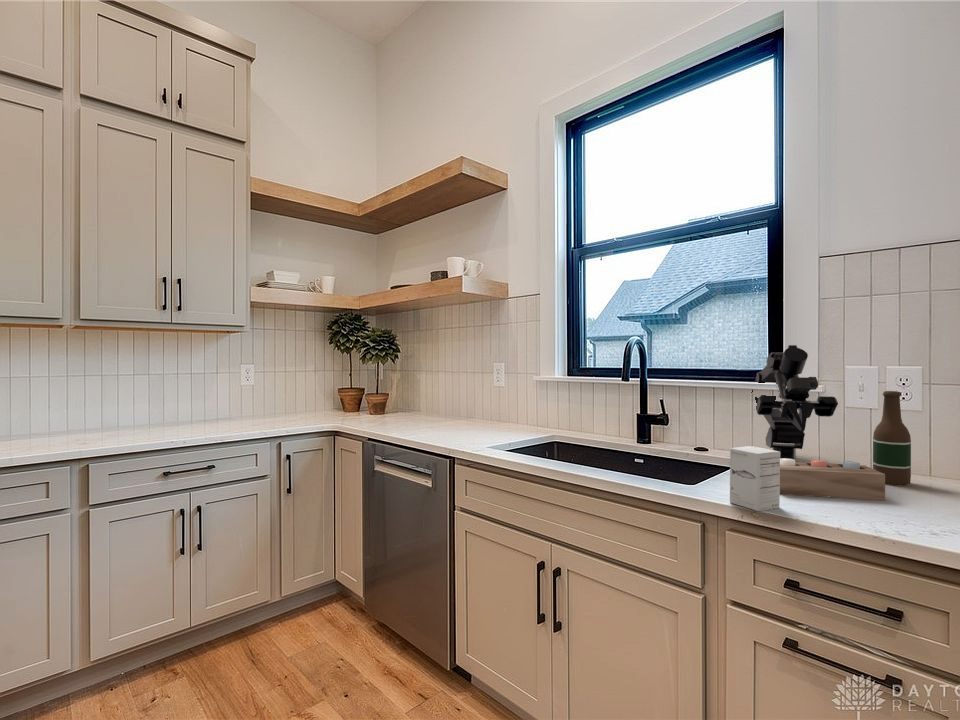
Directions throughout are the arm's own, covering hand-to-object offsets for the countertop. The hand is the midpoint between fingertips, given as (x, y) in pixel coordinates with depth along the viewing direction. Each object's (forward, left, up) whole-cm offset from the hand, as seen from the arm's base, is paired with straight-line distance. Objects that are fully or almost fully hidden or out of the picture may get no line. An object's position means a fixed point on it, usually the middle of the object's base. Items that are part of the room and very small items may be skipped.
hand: (802, 430), depth 136 cm
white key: (+8, -6, -11) cm, 15 cm away
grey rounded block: (+8, +8, -11) cm, 16 cm away
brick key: (+8, +1, -11) cm, 14 cm away
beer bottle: (-4, +22, -14) cm, 26 cm away
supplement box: (+28, -18, -14) cm, 36 cm away
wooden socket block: (+11, +1, -14) cm, 17 cm away
